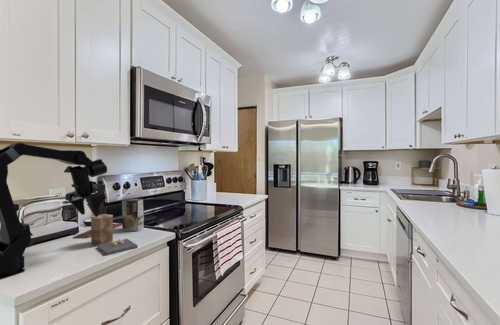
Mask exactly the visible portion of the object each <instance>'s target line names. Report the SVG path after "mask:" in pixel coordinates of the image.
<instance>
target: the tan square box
mask: <svg viewBox="0 0 500 325" xmlns="http://www.w3.org/2000/svg"><path fill="white" fill-rule="evenodd" d="M113 217H114V214H107V213H102V214H99V215H98V216H97V217H95V216H94V215H92V216H90V221H91V222H90V228H91V229H90V230H91V238H90V242H91V243H90V244H91V245H94V246H97V245H100V244H104V243H109V242H112V241H113V240H114V238H113V237H114V234H113V232H114V230H113V229H114V228H113V224H114V222H113V221H114V220H113V219H114V218H113Z"/></svg>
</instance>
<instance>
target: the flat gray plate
mask: <svg viewBox="0 0 500 325" xmlns="http://www.w3.org/2000/svg"><path fill="white" fill-rule="evenodd" d="M96 246H97V249H99V251H101V252H102V253H103V254H104V255H105V256H110V255H113V254H117V253H122V252H127V251H130V250H134V249H138V244H137V243H135V242H133V241H131V240H130V239H128V238H123V239H121V238H119V239H118V240H116V241H115V240H114V239H113V241H112V242H109V243H104V244H100V245H96Z"/></svg>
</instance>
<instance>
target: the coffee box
mask: <svg viewBox="0 0 500 325" xmlns="http://www.w3.org/2000/svg"><path fill="white" fill-rule="evenodd" d="M144 200H145V199H144V198H127V199H123V200H121V217H122V219H121V221H122V222H121V224H122V225H121V226H122V227H121V228H122V230H121V231H122V232H125V231H127V232H138V231H141V230H143V229H144V228H145V213H144V212H145V211H144V210H145V202H144Z"/></svg>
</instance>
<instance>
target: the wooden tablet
mask: <svg viewBox="0 0 500 325" xmlns="http://www.w3.org/2000/svg"><path fill="white" fill-rule="evenodd" d="M121 226H122V223H113V229H115V228H118V227H121ZM72 239H76V240H77V239H78V240H79V239H80V240H81V239H82V240H83V239H91V229H89V230H87V231H84V232H82V233H80V234H78V235H75V236H73V237H72Z"/></svg>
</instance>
